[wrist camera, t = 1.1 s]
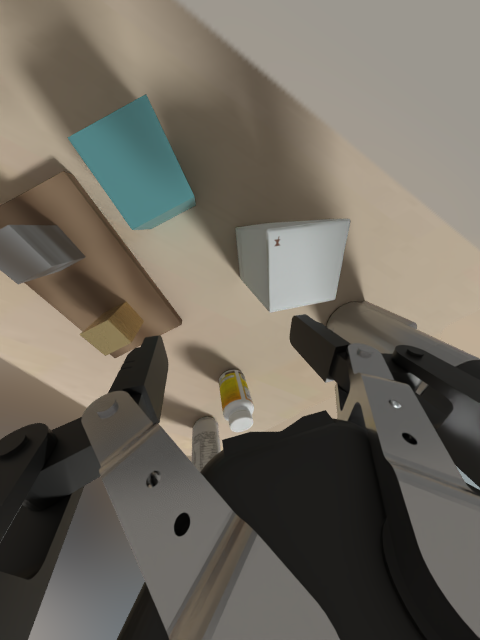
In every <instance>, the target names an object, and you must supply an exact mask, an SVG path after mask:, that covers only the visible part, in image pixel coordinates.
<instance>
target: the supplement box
mask: <svg viewBox="0 0 480 640" xmlns="http://www.w3.org/2000/svg"><path fill="white" fill-rule="evenodd" d="M349 226H350V219H324V220H309V221H293V222H275V223H264V224H257V225H250V226H243V227H236V228H235V230H236V240H237V250H238V260H239V271H240V279H241V280H242V281H243V282H244V283H245V284H246V286H247V287H248V288H249V289H250V290H251V291H252V293H253V294H254V295H255V296H256V297H257V298H258V299H259V301H260V302H261V303H262V304H263V305H264V306H265V307H266V309H267V310H268V311H269V312H275V311H280V310H285V309H291V308H296V307H301V306H306V305H311V304H316V303H321V302H326V301H331V300H335V298H336V293H337V288H338V282H339V277H340V272H341V266H342V261H343V255H344V250H345V245H346V240H347V236H348V231H349Z"/></svg>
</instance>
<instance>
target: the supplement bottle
mask: <svg viewBox="0 0 480 640" xmlns="http://www.w3.org/2000/svg"><path fill="white" fill-rule="evenodd" d="M219 387H220V395H221V402H222V409H223V415H224V418H225V419H226V420H227V421H229V425H230V429H231V430H232V431H234V432H242V431H245V430H247V429H249V428H250V427H251V426H252V424H253V419H252V413H253V411H254V406H253V402H252V399H251V396H250V393H249V390H248V386H247V383H246V380H245V377H244V375H243V373H242V372H241V371H239V370H229V371H226V372H224V373H223V374H222V375H221V376H220V378H219Z"/></svg>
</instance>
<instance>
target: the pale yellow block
mask: <svg viewBox="0 0 480 640" xmlns="http://www.w3.org/2000/svg"><path fill="white" fill-rule="evenodd" d="M143 322H144V320H143V319H142V318H141V317H140V316H139V315H138V314H137V313H136V312H135V311H134V309H133V308H132V307H131V306H130V305H129V304H128V303H127V302H124V303H122V304H120V305H118V306H116V307H114V308H112V309H110V310H108V311H106V312H105V313H103V314H102V315H101V316H100V317H99V318H97V319H96V320H95V321H94V322H93V323H92V324H91V325H90V326H88V327H87V328H86V329H85V330H84V331H83V332H82V333H81V334H80V335H81V336H82V337H83V338H84V339H86V340H87V341H88V342H89V343H90V344H92V345H93V346H94V347H95V348H97V349H98V350H99V351H100V352H101V353H103V354H104V355H105V356H106V355H108V354H110V353H112V352H114V351H116V350H118V349H120V348H122V347H124V346H126V345H128V344H130V343H132V341H133V339H134V338H135V336H136V334H137V332H138V331H139V329H140V327H141V326H142V324H143Z"/></svg>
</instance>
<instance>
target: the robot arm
mask: <svg viewBox="0 0 480 640" xmlns="http://www.w3.org/2000/svg"><path fill="white" fill-rule="evenodd" d="M290 342H291V345H292V346H293V347H294V348H295V349H296V350H297V352H298V353H299V354H300V355H301V356H302V357H303V358H304V359H305V360H306V362H307V363H308V364H309V365H310V366H311V367H312V368H313V369H314V370H315V372H316V373H317V374H318V375H319V376H320V377H321V378H322V379H323V380H324V382H325V383H326V382H330V381H334V380H335V381H336V385H335V394H336V405H337V419H332V418H331V417H330V415H329V414H328V413H327V411H326V410H325V411H322V412H318V413H314V414H311V415H307V416H304V417H302V418H300V419H299V420H297V421H296V422H295V423H293V424H292V425H290V426H289V427H287V428H286V429H284V430H283V431H280V432H249V433H245V434H242V435H238V436H235V437H231V438H228V439H224V440H222V442H223V450H222V451H221V452H219V453H218V454H216V455H215V456H214V457H213V458H212V459H211V460H210V461H209V462H208V463H207V464H206V465H205V466H204V467H203V469H202V470H201V471H200V472H199V471H198V469H197V468H196V467H195V466H194V465H193V464H192V462H191V461H190V460H189V459H188V458H187V457H186V455H185V454H184V453H183V452H182V451H181V449H180V448H179V447H178V446H177V445H176V444H175V442H174V441H173V440H172V439H171V438H170V437H169V435H168V434H167V433H166V432H165V431H164V430H163V428H162V427H161V426H160V425H159V424H158V423H159V422H160V416H161V410H162V403H163V397H164V391H165V385H166V379H167V373H168V358H167V354H166V351H165V347H164V344H163V340H162V337H161V336H160V335H158V336H151V337H145V338H144V340H143V343H142V345H141V347H139V348H135V349H134V350H132V351H131V352H130V353H129V354H128V355H127V357H126V359H125V361H124V364H123V365H122V367H121V370H120V371H119V373H118V375H117V377H116V378H115V380H114V382H113V384H112V386H111V388H110V390H109V392H108V394H105V395H103V396H101V397H100V398H98V399H97V400H95V401H94V402H93V403H92V404H90V405H89V406H88V408H87V409H86V410H85V411H84V413H83V415H82V417H80V418H78V419H76V420H74V421H72V422H70V423H67V424H65V425H63V426H60V427H58V428H56V429H53V430H50V429H49V428H48V427H47V426H46V425H45V424H42V423H37V424H31V425H28V426H25V427H22V428H20V429H18V430H16V431H14V432H12V433H10V434H8V435H7V436H5V437H4V438H2V439H1V440H0V542H1V543H0V640H28V638H29V635H30V632H31V629H32V627H33V624H34V621H35V618H36V616H37V613H38V611H39V608H40V605H41V602H42V600H43V597H44V594H45V591H46V589H47V586H48V583H49V580H50V578H51V575H52V572H53V570H54V567H55V564H56V562H57V559H58V556H59V553H60V551H61V548H62V545H63V543H64V540H65V537H66V534H67V532H68V529H69V526H70V524H71V521H72V518H73V515H74V513H75V510H76V507H77V505H78V502H79V499H80V496H81V494H82V491H83V488H84V486H85V485H86V484H88V483H90V482H91V481H93V480H95V479H96V478H98V477H100V476H101V478H102V480H103V483H104V485H105V487H106V490H107V492H108V495H109V497H110V500H111V502H112V504H113V507H114V509H115V511H116V514H117V516H118V518H119V520H120V523H121V525H122V528H123V530H124V532H125V535H126V537H127V539H128V542H129V544H130V547H131V549H132V551H133V554H134V556H135V558H136V560H137V563H138V565H139V568H140V570H141V572H142V575H143V577H144V579H145V582H144V584H143V587H142V589H141V591H140V593H139V595H138V597H137V599H136V601H135V603H134V605H133V607H132V609H131V611H130V613H129V615H128V617H127V619H126V622H125V624H124V626H123V628H122V630H121V632H120V634H119V636H118V638H117V640H480V490H479V489H477V488H475V487H473V486H471V485H469V484H467V483H466V482H465V481H464V480H463V478H462V476H461V474H460V473H459V471H458V470H457V467H458V468H459V469H460V470H461V471H462V472H463V473H464V474H466V475H467V476H468V477H469V478H470V479H471V480H472V481H473V482H474V483H475V484H476V485H477V486H479V487H480V359H479V358H477V357H475V356H473V355H470V354H468V353H466V352H464V351H462V350H460V349H458V348H456V347H453V346H451V345H449V344H447V343H445V342H443V341H440V340H438V339H436V338H434V337H432V336H430V335H428V334H426V333H423V332H421V331H419V330H417V324H416V323H415V322H412V321H410V320H408V319H406V318H403V317H401V316H399V315H397V314H394V313H392V312H390V311H387V310H385V309H383V308H381V307H378V306H376V305H374V304H372V303H369V302H367V301H363V302H361V303H360V302H350V303H347V304H345V305H343V306H341V307H340V308H338V309H337V310H336V311H335V312H334V313H333V314H332V315H331V317H330V319H329V320H328V323H327V326H324V325H323V324H321V323H319V322H316V321H314V320H313V319H312V318H310V317H309V316H307V315H305V314H304V315H297V316H293V318H292V322H291V330H290ZM455 465H456V466H457V467H456V466H455ZM21 505H22V506H21ZM20 507H21V508H20ZM19 508H20V509H19ZM18 510H19V511H18ZM17 512H18V513H17ZM16 514H17V515H16ZM15 515H16V516H15ZM14 517H15V518H14ZM13 519H14V520H13ZM12 521H13V522H12ZM11 522H12V523H11ZM10 524H11V525H10ZM9 526H10V527H9ZM8 527H9V529H8ZM7 529H8V530H7ZM6 531H7V532H6ZM5 533H6V534H5ZM4 535H5V536H4ZM3 536H4V538H3ZM2 538H3V539H2ZM1 540H2V541H1Z"/></svg>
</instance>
